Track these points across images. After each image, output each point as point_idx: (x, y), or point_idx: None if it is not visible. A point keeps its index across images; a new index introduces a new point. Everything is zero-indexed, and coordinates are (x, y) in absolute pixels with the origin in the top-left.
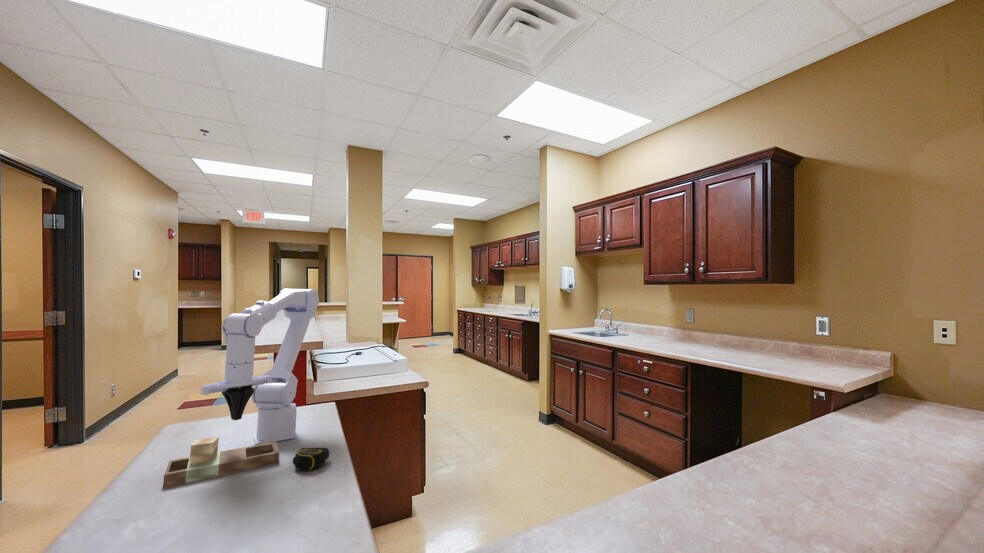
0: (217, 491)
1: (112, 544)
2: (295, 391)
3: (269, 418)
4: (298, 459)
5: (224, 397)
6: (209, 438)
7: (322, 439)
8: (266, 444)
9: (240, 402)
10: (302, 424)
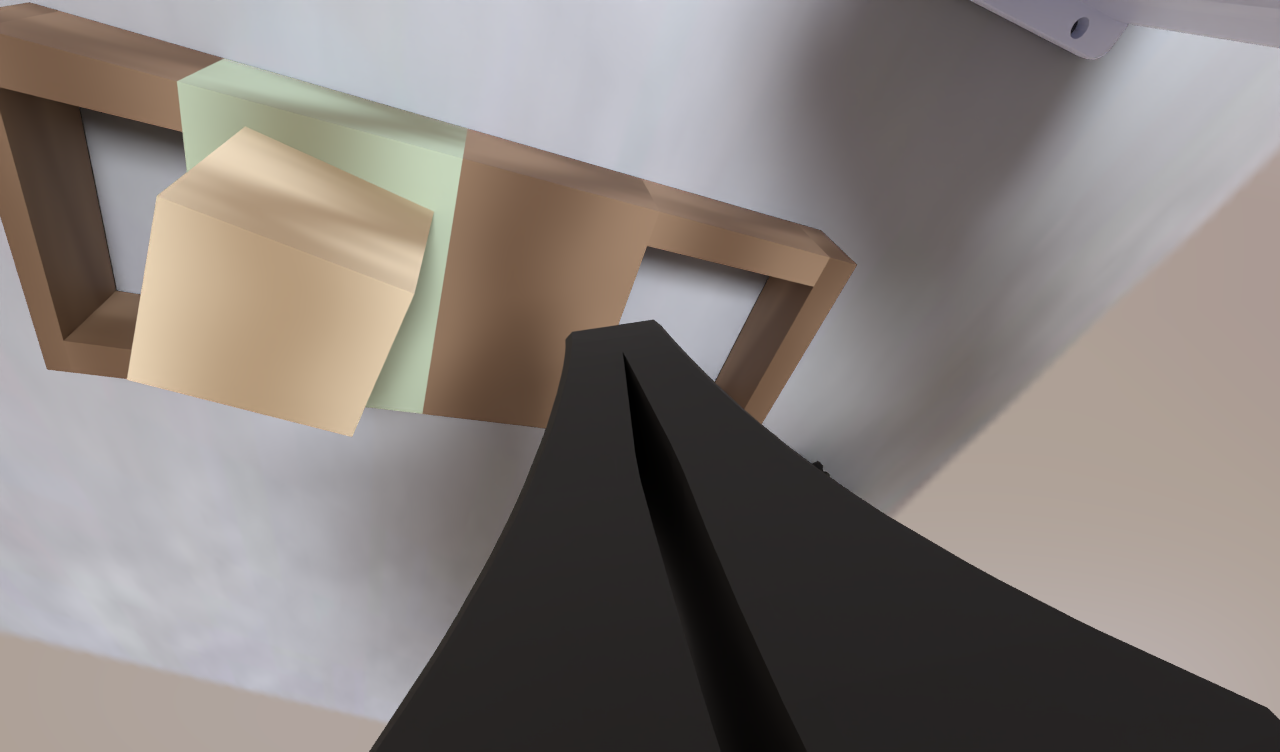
0: (409, 510)
1: (70, 647)
2: None
3: None
4: None
5: (386, 729)
6: (314, 289)
7: (1101, 241)
8: (784, 276)
9: (699, 672)
10: None
